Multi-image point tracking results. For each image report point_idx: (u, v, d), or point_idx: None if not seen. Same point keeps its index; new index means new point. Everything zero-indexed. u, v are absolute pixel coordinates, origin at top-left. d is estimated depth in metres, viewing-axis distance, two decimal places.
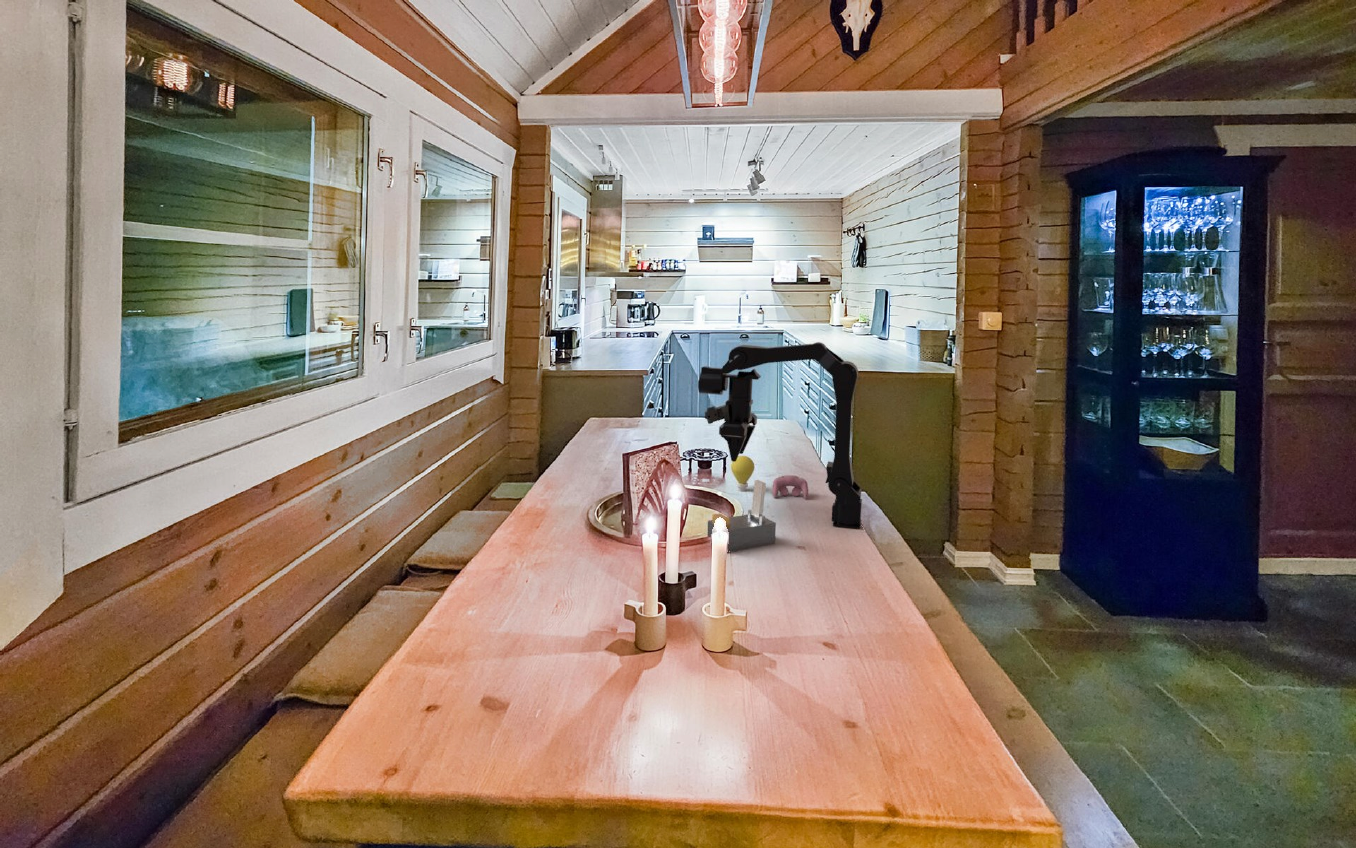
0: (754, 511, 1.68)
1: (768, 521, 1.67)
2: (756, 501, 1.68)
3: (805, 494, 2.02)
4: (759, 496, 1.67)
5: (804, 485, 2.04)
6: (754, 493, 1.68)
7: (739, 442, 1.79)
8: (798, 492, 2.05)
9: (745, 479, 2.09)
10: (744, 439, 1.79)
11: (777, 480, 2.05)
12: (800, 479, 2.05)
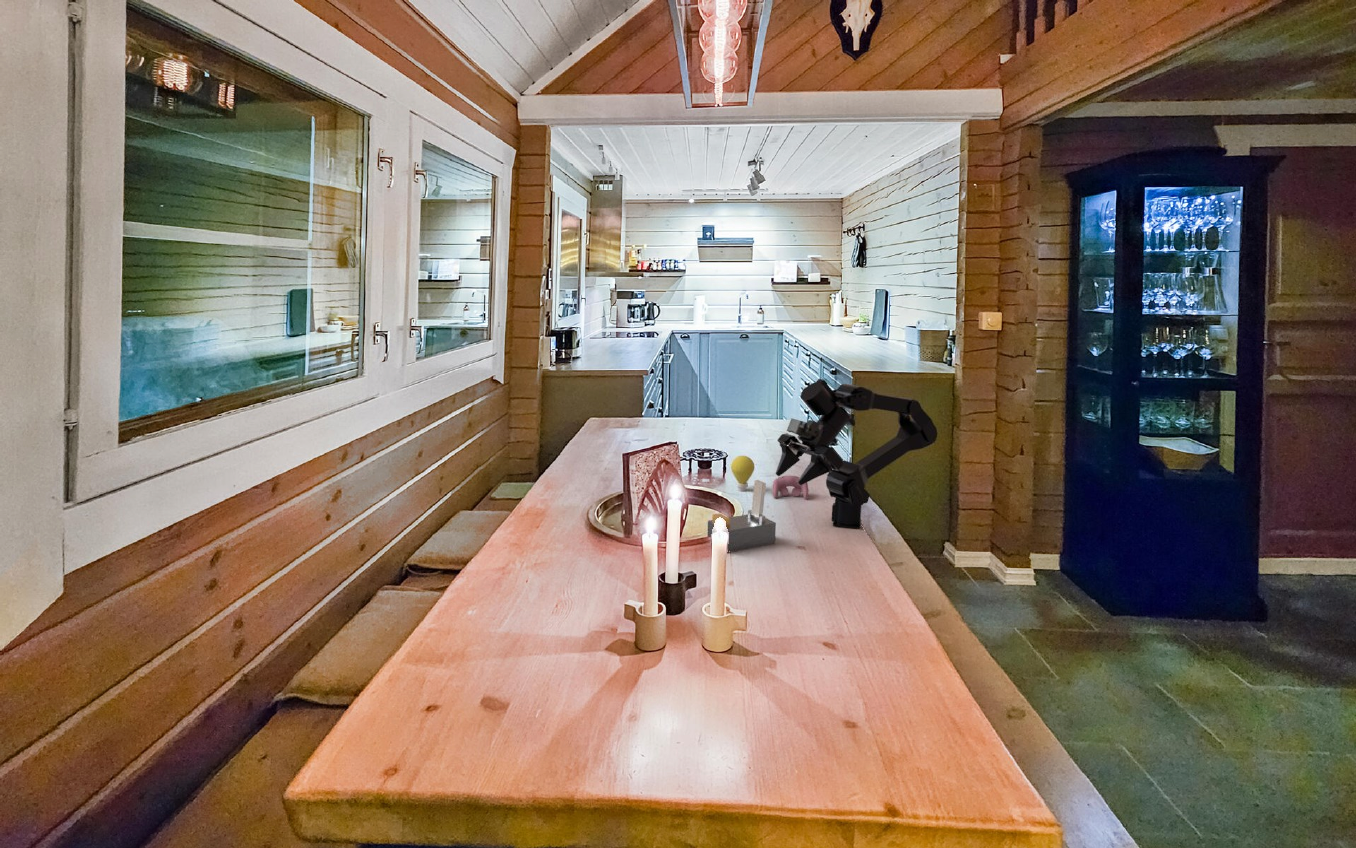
0: (754, 511, 1.68)
1: (768, 521, 1.67)
2: (756, 501, 1.68)
3: (805, 494, 2.02)
4: (759, 496, 1.67)
5: (804, 485, 2.04)
6: (754, 493, 1.68)
7: (821, 471, 1.68)
8: (798, 492, 2.05)
9: (745, 479, 2.09)
10: None
11: (777, 480, 2.05)
12: None
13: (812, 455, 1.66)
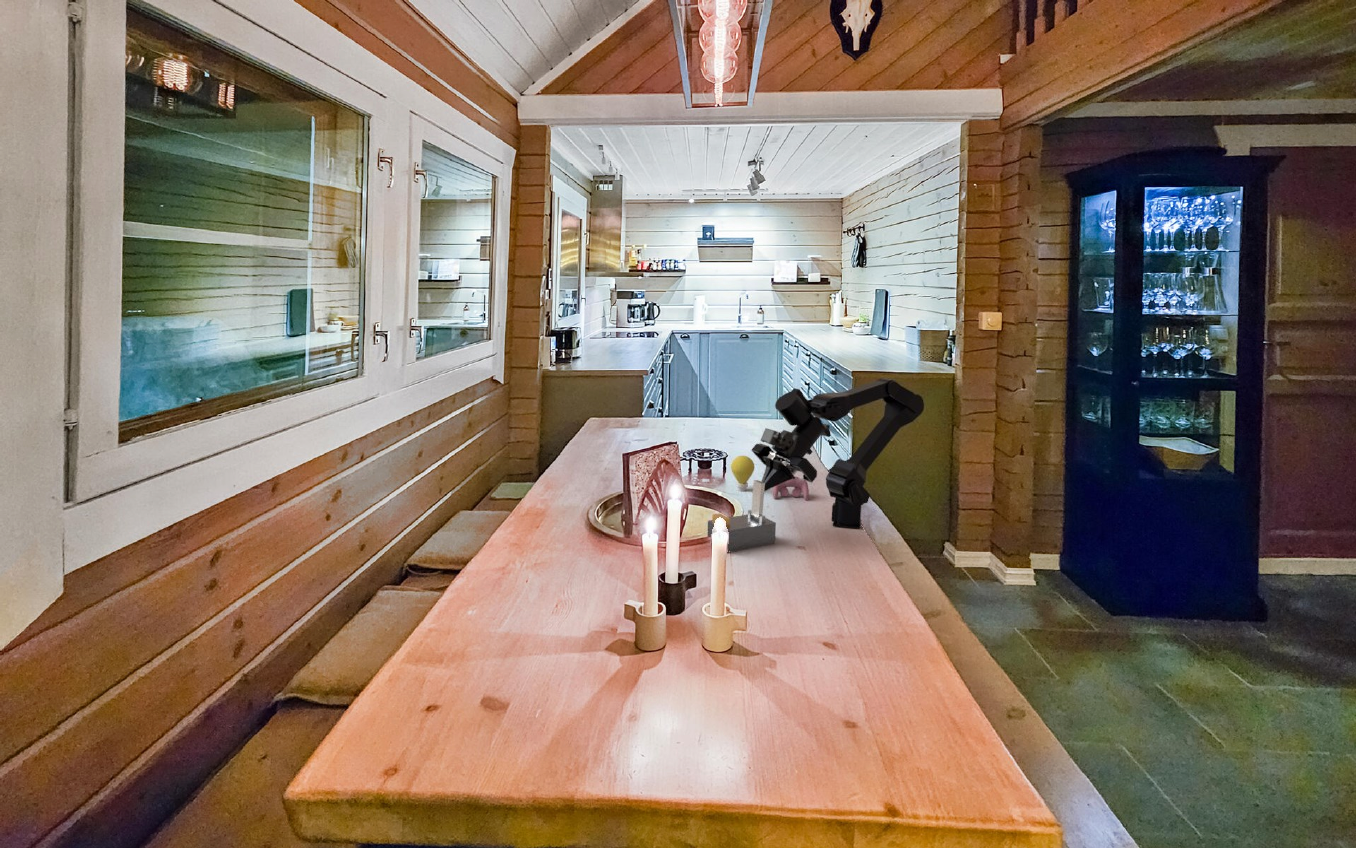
0: (754, 511, 1.68)
1: (768, 521, 1.67)
2: (756, 501, 1.68)
3: (805, 495, 2.01)
4: (758, 496, 1.66)
5: (804, 486, 2.03)
6: (753, 493, 1.68)
7: (783, 478, 1.68)
8: (798, 493, 2.04)
9: (745, 479, 2.09)
10: None
11: None
12: (800, 480, 2.04)
13: (774, 462, 1.67)
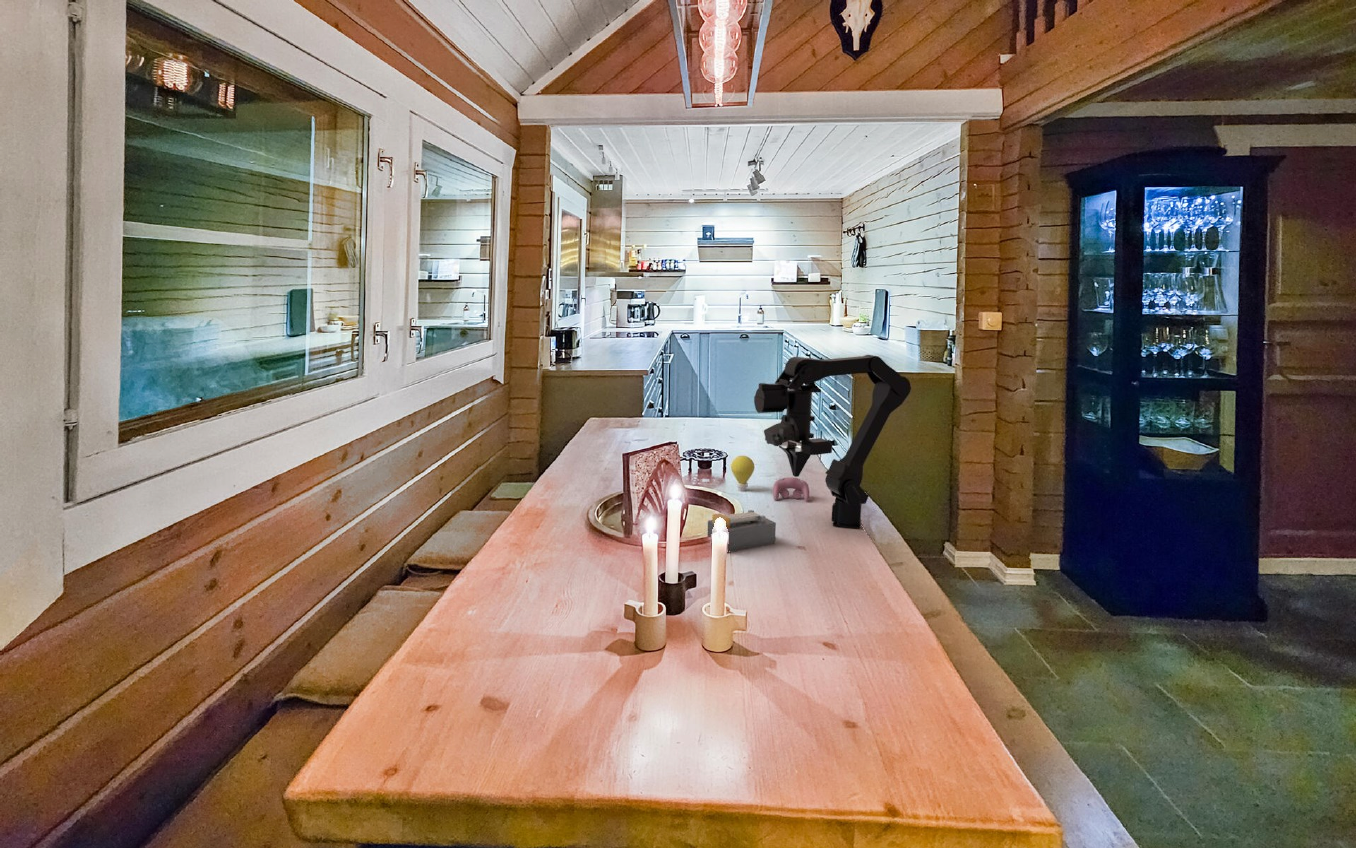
0: None
1: (768, 521, 1.67)
2: None
3: (806, 496, 2.00)
4: None
5: (805, 487, 2.02)
6: None
7: (807, 455, 1.74)
8: (799, 494, 2.03)
9: (745, 479, 2.09)
10: None
11: (778, 482, 2.03)
12: (801, 481, 2.03)
13: (791, 451, 1.72)
